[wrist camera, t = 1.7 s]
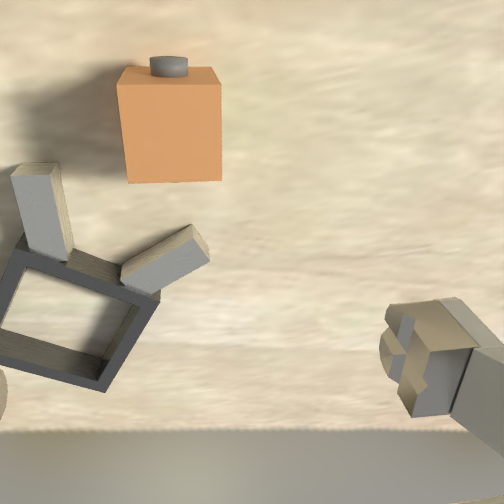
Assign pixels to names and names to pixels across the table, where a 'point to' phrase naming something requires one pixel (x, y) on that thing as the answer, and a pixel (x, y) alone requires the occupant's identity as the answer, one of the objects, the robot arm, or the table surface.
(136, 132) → the block
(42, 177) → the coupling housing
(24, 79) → the table surface
